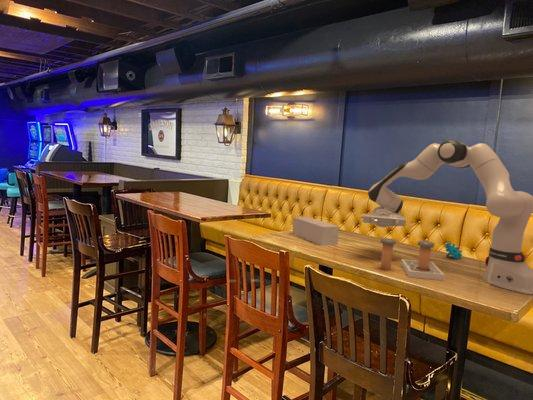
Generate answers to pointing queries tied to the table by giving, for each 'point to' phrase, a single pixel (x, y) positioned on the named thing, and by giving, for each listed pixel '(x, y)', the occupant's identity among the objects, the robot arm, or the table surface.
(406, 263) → the housing
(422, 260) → the grey capped peg
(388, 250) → the brown pin with head
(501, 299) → the table surface
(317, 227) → the grey rectangular brick
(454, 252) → the gear
